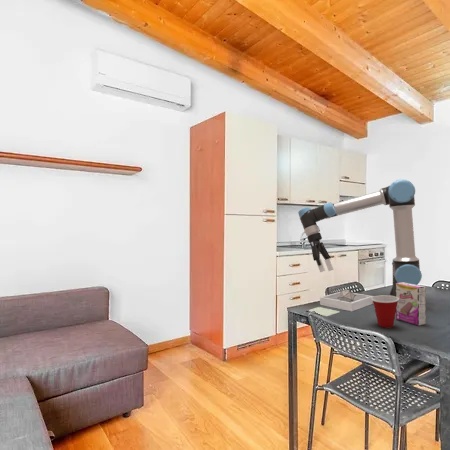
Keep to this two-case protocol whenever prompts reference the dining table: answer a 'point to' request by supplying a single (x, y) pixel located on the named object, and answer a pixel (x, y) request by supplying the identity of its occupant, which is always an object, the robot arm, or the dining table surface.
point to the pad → (324, 311)
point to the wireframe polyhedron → (346, 296)
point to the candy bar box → (411, 303)
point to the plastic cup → (385, 309)
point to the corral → (334, 302)
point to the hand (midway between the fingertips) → (327, 271)
